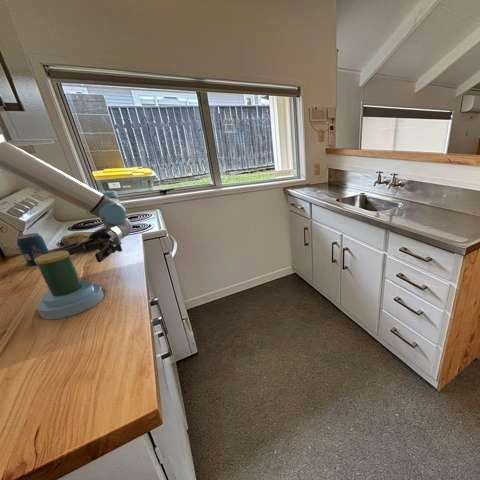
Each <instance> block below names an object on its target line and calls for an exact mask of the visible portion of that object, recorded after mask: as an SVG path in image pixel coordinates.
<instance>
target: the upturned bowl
mask: <svg viewBox="0 0 480 480" xmlns="http://www.w3.org/2000/svg"><path fill="white" fill-rule="evenodd" d="M80 281H81V283H82V287H81V288H80V289H79V290H77V291H75V292H73V293H70V294H67V295H63V296H53V295H52V294H51V292H50V290H49V289H48V290H47V291H45V292H44V293H43V294H42V295H41V297H40V301H38V303H37V304H36V310H37V311H38V313H39V315H40V317H41V318H42V319H44V320H49V321H52V320H60V319H65V318H69V317H72V316H76V315H78V314H81V313H83V312H85V311H87V310H90V309H91V308H93V307H95V306H96V305H98V304H99V303H100V302H101V301H102V300H103V299H104V297H105V294H104V291H103V289H102V286H101V285H100V284H98V283H93V282H92V281H91V280H88V279H87V280H86V279H80Z"/></svg>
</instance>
